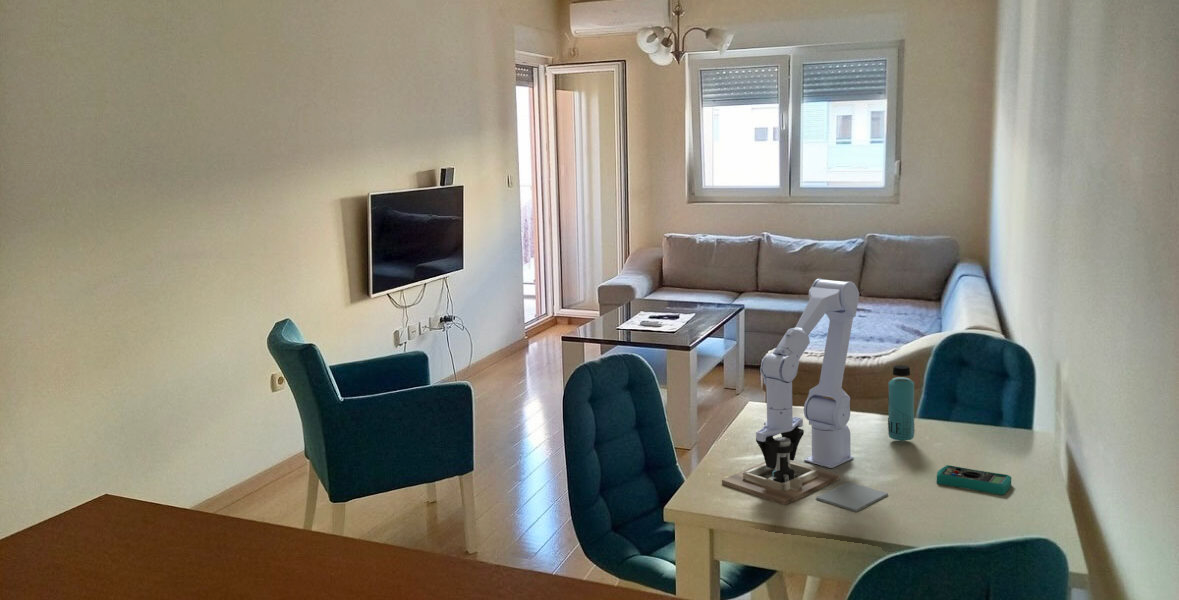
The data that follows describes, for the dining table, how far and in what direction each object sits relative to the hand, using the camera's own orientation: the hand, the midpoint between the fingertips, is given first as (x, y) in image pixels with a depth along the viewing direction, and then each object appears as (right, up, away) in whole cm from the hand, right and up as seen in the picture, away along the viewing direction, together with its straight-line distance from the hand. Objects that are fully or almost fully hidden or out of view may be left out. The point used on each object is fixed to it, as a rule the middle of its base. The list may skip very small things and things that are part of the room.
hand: (780, 463), depth 209 cm
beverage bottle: (+35, +1, +22) cm, 42 cm away
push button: (0, -5, +1) cm, 5 cm away
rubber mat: (+14, -6, -10) cm, 18 cm away
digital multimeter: (+42, -4, -6) cm, 42 cm away
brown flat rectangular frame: (0, -4, +1) cm, 4 cm away
